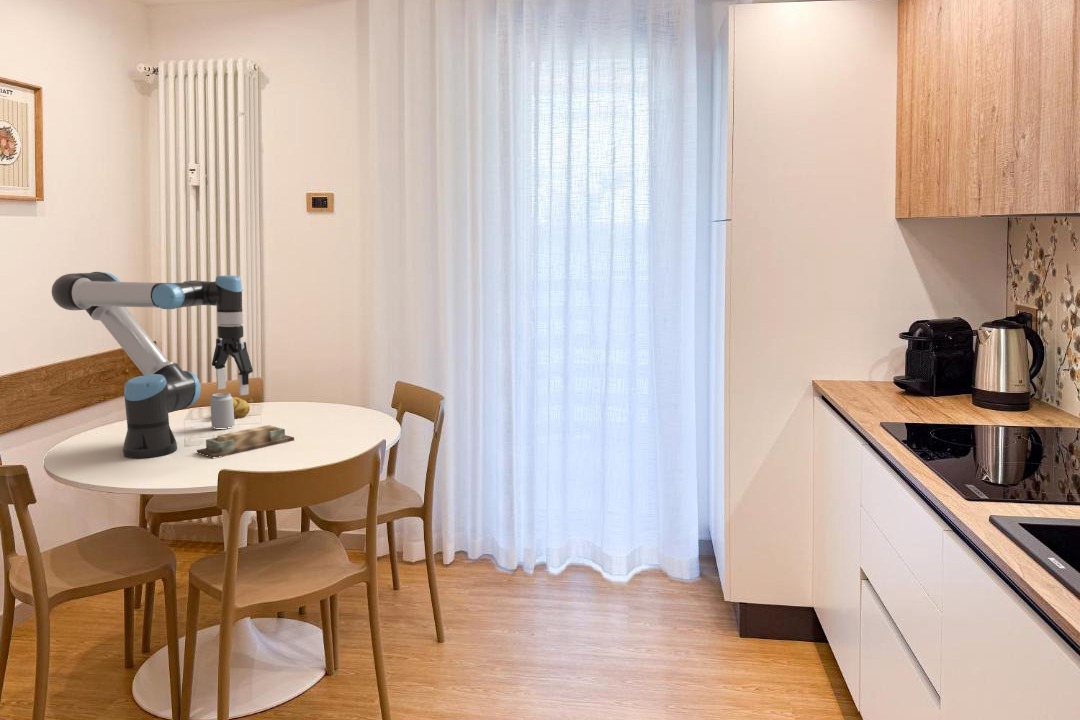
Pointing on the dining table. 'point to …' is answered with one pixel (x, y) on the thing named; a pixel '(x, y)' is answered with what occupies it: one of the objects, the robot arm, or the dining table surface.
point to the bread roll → (240, 407)
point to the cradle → (228, 448)
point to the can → (222, 410)
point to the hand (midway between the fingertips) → (232, 391)
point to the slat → (248, 436)
